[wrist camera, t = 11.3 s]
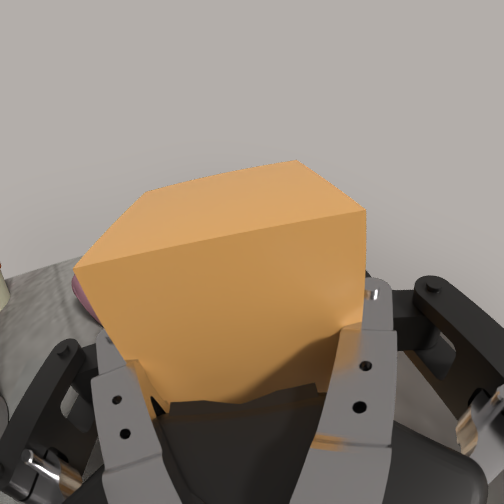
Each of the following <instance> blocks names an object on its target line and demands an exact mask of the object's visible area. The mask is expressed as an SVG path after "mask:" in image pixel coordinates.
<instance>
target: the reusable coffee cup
mask: <svg viewBox="0 0 504 504" xmlns="http://www.w3.org/2000/svg"><path fill="white" fill-rule="evenodd" d="M0 268H1V264H0ZM9 299H10V293H9V291H8V288H7V286H6V283H5V281H4V278H3V276H2V273H1V270H0V311H1V310H2V309H3V308H4V307H5V305H6V304H7V303H8V301H9Z"/></svg>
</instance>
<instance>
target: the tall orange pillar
mask: <svg viewBox="0 0 504 504" xmlns="http://www.w3.org/2000/svg"><path fill="white" fill-rule="evenodd" d="M365 268H366V210H365V209H364V208H363V207H362V206H360V205H359V204H358V203H356V202H355V201H354V200H352V199H351V198H350V197H348V196H347V195H346V194H344V193H343V192H342V191H340V190H339V189H338V188H336V187H335V186H333V185H332V184H331V183H329V182H328V181H326V180H325V179H324V178H322V177H321V176H319V175H318V174H317V173H315V172H314V171H312V170H311V169H309V168H308V167H306V166H305V165H303V164H302V163H300V162H299V161H297V160H294V161H288V162H281V163H276V164H269V165H263V166H258V167H253V168H247V169H242V170H237V171H232V172H227V173H222V174H217V175H213V176H208V177H203V178H199V179H195V180H190V181H186V182H183V183H178V184H174V185H170V186H167V187H162V188H158V189H155V190H151V191H147V192H145V193H144V194H143V195H142V196H141V197H140V198H139V199H138V200H137V201H136V202H135V203H134V204H133V205H132V206H130V207H129V208H128V209H127V210H126V211H125V212H124V214H122V215H121V216H120V217H119V218H118V219H117V221H115V222H114V224H113V225H112V226H111V227H110V228H109V229H108V230H107V231H106V232H105V233H104V234H103V235H102V236H101V237H100V238H99V239H98V240H97V241H96V243H95V244H94V245H93V246H92V247H91V248H90V249H89V250H88V251H87V253H86V254H85V255H84V256H83V257H82V258H81V259H80V261H79V262H78V263H77V264H76V265H75V266H74V268H73V271H74V273H75V275H76V277H77V279H78V281H79V283H80V285H81V287H82V289H83V291H84V293H85V295H86V297H87V299H88V301H89V302H90V304H91V306H92V308H93V310H94V312H95V313H96V315H97V317H98V319H99V320H100V322H101V324H102V325H103V327H104V329H105V330H106V332H107V334H108V335H109V337H110V339H111V340H112V342H113V343H114V345H115V347H116V348H117V350H118V351H119V353H120V354H121V356H122V357H123V359H124V360H133V359H138V360H139V362H140V363H141V365H142V366H143V368H144V369H145V371H146V374H147V376H148V378H149V380H150V382H151V384H152V385H153V387H154V388H155V389H156V391H157V392H158V394H159V395H160V396H161V398H162V399H163V400H164V401H166V400H167V402H168V403H169V404H170V402H184V401H199V400H207V401H214V402H223V403H232V404H242V403H246V402H249V401H251V400H254V399H257V398H259V397H262V396H265V395H267V394H270V393H272V392H275V391H277V390H281V389H287V388H292V387H296V386H301V385H306V384H310V383H315V384H316V388H317V391H318V392H328V388H329V384H330V380H331V375H332V371H333V367H334V362H335V358H336V353H337V348H338V343H339V338H340V333H341V329H342V328H344V326H347V325H351V324H354V323H358V322H362V316H363V304H364V289H365V270H366V269H365Z"/></svg>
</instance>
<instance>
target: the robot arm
mask: <svg viewBox="0 0 504 504" xmlns="http://www.w3.org/2000/svg"><path fill="white" fill-rule="evenodd" d="M440 332H442V333H443V334H444V335H445V336H446V337H447V338H448V339H449V340H450V341H451V342H452V343H453V345H454V347H455V350H456V352H455V351H454V350H453V349H452V348H451V347H450V346H449V344H448V343H447V342H446V341H445V340H444V339H443V338H442V337H441V336H440ZM397 351H404V353H405V354H406V355H407V356H408V358H409V359H410V360H411V361H412V363H413V364H414V365H415V366H416V367H417V369H418V370H419V371H420V372H421V374H422V375H423V376H424V377H425V379H426V380H427V381H428V382H429V384H430V385H431V386H432V388H433V389H434V390H435V391H436V393H437V394H438V395H439V397H440V398H441V399H442V400H443V402H444V403H445V404H446V406H447V407H448V408H449V410H450V411H451V412H452V414H453V415H454V416H455V418H456V419H457V420H458V422H457V426H456V435H457V443H458V445H459V446H461V453H460V452H457V451H455V450H453V449H451V448H449V447H446V446H444V445H442V444H440V443H438V442H436V441H434V440H432V439H430V438H428V437H425V436H423V435H421V434H419V433H417V432H415V431H413V430H412V429H410V428H408V427H406V426H404V425H402V424H400V423H398V422H396V421H394V420H393V419H394V408H395V395H396V377H397ZM70 385H71V386H72V387H73V388H74V390H75V391H76V392H77V393H78V394H79V395H78V397H77V399H76V401H75V403H74V405H73V407H72V409H71V411H70V413H69V415H68V417H67V419H66V418H65V417H64V416H63V414H62V413H61V409H60V406H61V402H62V400H63V398H64V396H65V394H66V393H67V391H68V389H69V387H70ZM97 436H99V441H100V446H101V451H102V456H103V460H104V464H103V465H102V466H101V467H100V468H99V469H98V470H97V471H96V472H95V473H94V474H93V475H92V476H91V477H90V478H88V479H87V480H86V481H85V482H84V483H82V475H83V473H84V470H85V467H86V464H87V462H88V459H89V456H90V454H91V451H92V449H93V446H94V443H95V441H96V438H97ZM503 469H504V328H502V327H501V326H500V325H499V324H498V323H497V322H496V321H495V320H494V319H492V318H491V317H490V316H489V315H488V314H487V313H485V312H484V311H483V310H482V309H481V308H480V307H478V306H477V305H476V304H475V303H474V302H473V301H471V300H470V299H469V298H468V297H466V296H465V295H464V294H463V293H462V292H460V291H459V290H458V289H457V288H455V287H454V286H453V285H451V284H450V283H449V282H448V281H446V280H445V279H443V278H441V277H437V276H423V277H421V278H419V279H418V280H417V281H416V282H415V286H414V290H392V289H391V287H390V285H389V284H388V283H387V282H385V281H384V280H382V279H378V278H372V277H371V276H370V275H369V273H368V272H367V271H366V270H365V289H364V304H363V316H362V322H358V323H354V324H351V325H347V326H344V328H342V329H341V333H340V338H339V343H338V348H337V353H336V358H335V362H334V367H333V371H332V375H331V380H330V384H329V388H328V392H318V391H317V388H316V384H315V383H310V384H306V385H301V386H296V387H292V388H287V389H281V390H277V391H275V392H272V393H270V394H267V395H265V396H262V397H259V398H257V399H254V400H251V401H249V402H246V403H242V404H232V403H223V402H214V401H207V400H199V401H184V402H170V404H169V403H168V402H167V400H166V401H164V400H163V399H162V398H161V396H160V395H159V394H158V392H157V391H156V389H155V388H154V387H153V385H152V384H151V382H150V380H149V378H148V376H147V374H146V371H145V369H144V368H143V366H142V365H141V363H140V362H139V360H138V359H133V360H124V359H123V357H122V356H121V354H120V353H119V351H118V350H117V348H116V347H115V345H114V343H113V342H112V340H111V339H110V337H109V335H108V334H107V332H106V330H105V329H103V330H101V332H100V333H99V334H98V336H97V338H96V343H95V344H92V345H89V346H86V347H83V348H81V346H80V345H79V343H78V342H77V341H76V340H75V339H66V340H63V341H62V342H60V343H59V344H57V345H56V346H55V347H54V349H53V350H52V351H51V353H50V354H49V356H48V357H47V359H46V360H45V362H44V363H43V365H42V367H41V368H40V370H39V371H38V373H37V374H36V376H35V378H34V379H33V381H32V382H31V384H30V386H29V387H28V389H27V391H26V392H25V394H24V396H23V397H22V399H21V401H20V403H19V404H18V406H17V408H16V410H15V412H14V413H13V415H12V417H11V419H10V421H9V423H8V411H7V406H6V403H5V401H4V400H3V398H2V397H1V396H0V491H2V492H3V493H5V494H7V495H9V496H10V497H12V498H13V499H14V500H16V501H18V502H19V503H21V504H486V503H487V497H488V484H489V483H490V482H491V481H492V480H493V479H494V478H495V477H496V476H497V475H498V474H499V473H500V472H501V471H502V470H503Z"/></svg>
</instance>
